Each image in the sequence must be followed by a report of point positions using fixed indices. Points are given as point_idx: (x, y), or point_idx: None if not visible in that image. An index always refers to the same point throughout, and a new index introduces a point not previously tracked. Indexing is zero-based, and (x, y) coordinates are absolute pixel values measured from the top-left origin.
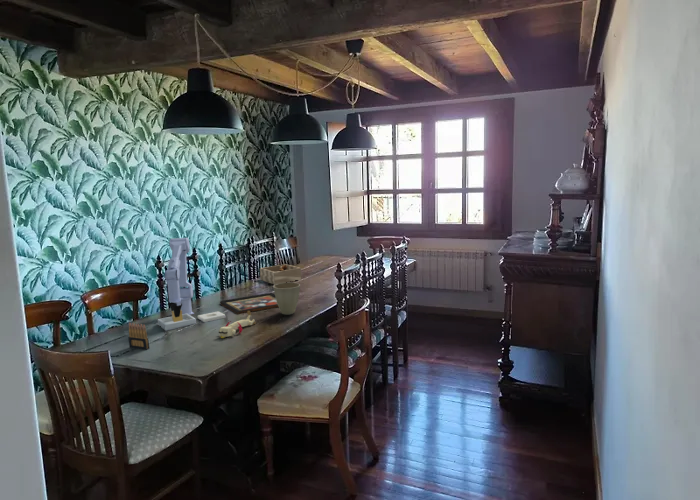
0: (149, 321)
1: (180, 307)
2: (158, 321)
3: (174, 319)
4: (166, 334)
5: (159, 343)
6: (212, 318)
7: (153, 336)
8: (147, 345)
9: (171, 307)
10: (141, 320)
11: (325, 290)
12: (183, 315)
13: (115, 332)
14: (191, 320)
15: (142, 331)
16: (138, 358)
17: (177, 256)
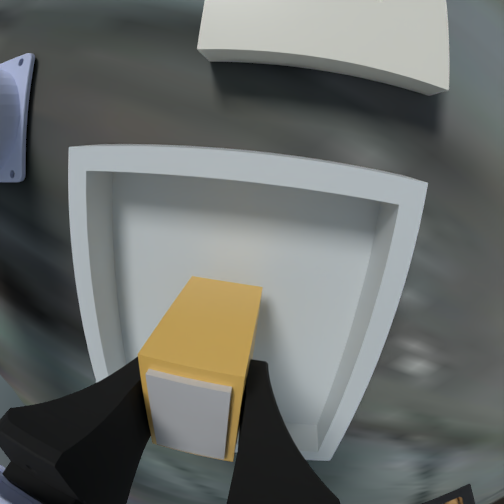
0: (34, 369)
1: (307, 476)
2: None
3: None
4: (403, 436)
5: (470, 463)
6: (441, 3)
7: (361, 475)
8: (472, 496)
9: (131, 477)
10: (7, 373)
11: None
12: (92, 203)
13: (143, 496)
14: (409, 242)
15: None
16: (490, 494)
17: None
